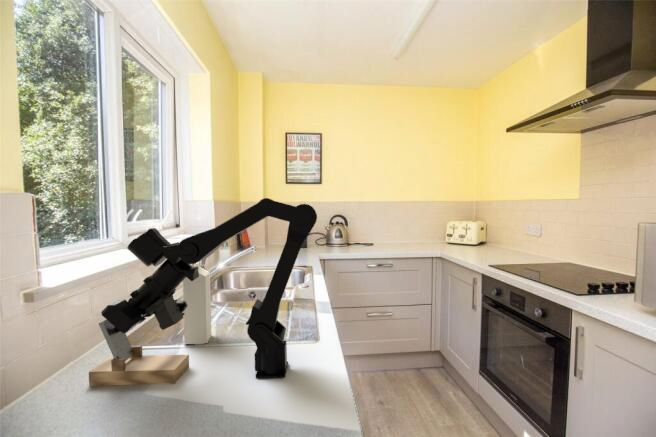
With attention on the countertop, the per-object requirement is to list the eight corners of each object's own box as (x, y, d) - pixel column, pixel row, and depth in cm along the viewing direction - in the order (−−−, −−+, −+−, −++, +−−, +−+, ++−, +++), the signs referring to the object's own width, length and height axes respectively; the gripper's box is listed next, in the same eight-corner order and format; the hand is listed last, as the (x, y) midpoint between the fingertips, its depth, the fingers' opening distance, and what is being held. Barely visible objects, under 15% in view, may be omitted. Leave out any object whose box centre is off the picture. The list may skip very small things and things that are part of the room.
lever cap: (134, 354, 71) (117, 314, 71) (121, 363, 67) (102, 321, 66) (127, 357, 71) (109, 317, 71) (113, 367, 67) (95, 325, 66)
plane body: (189, 367, 73) (188, 344, 73) (174, 383, 66) (174, 358, 66) (111, 368, 72) (111, 346, 72) (89, 385, 65) (88, 360, 65)
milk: (211, 335, 92) (210, 261, 91) (206, 344, 86) (205, 264, 85) (189, 336, 91) (188, 262, 90) (183, 345, 85) (182, 265, 84)
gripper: (172, 321, 60) (117, 378, 60) (206, 292, 78) (164, 336, 79) (129, 282, 59) (72, 340, 59) (173, 263, 78) (130, 307, 78)
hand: (116, 331), depth 69 cm, fingers closed, pressing on lever cap
